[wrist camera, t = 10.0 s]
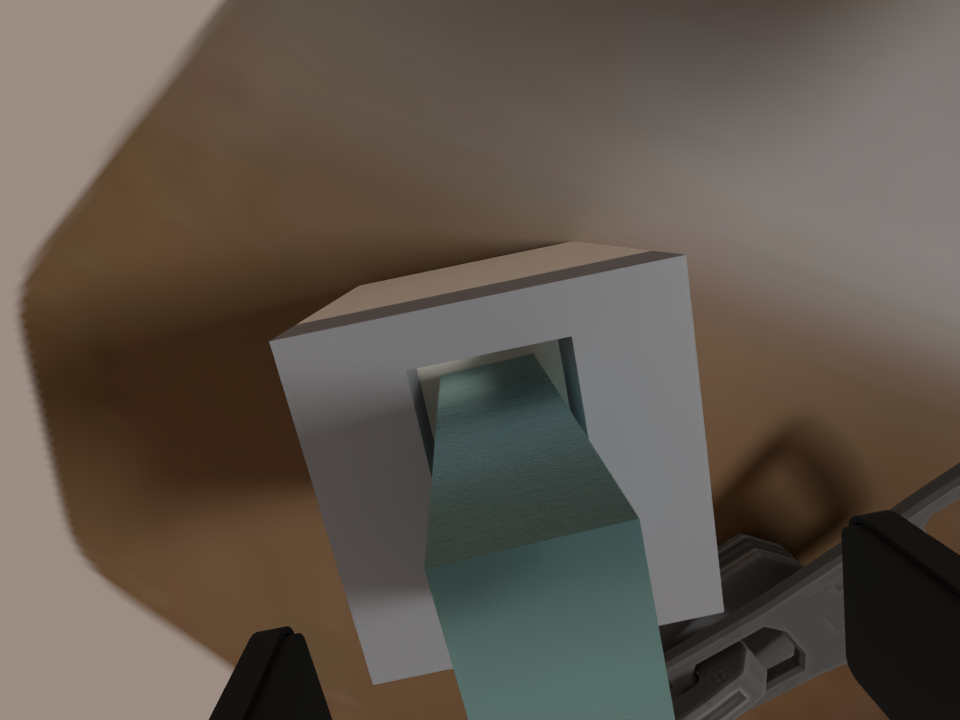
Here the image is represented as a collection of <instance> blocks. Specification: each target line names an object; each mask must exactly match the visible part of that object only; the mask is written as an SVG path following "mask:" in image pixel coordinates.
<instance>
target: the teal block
mask: <svg viewBox="0 0 960 720" xmlns="http://www.w3.org/2000/svg"><path fill="white" fill-rule="evenodd" d="M424 570H425V573H426V577H427V580H428V584H429V587H430V590H431V594H432V597H433V601H434V604H435V607H436V611H437V614H438V618H439V621H440V624H441V628H442V631H443V635H444V638H445V642H446V645H447V648H448V652H449V655H450V659H451V662H452V665H453V669H454V672H455V676H456V679H457V682H458V686H459V689H460V693H461V696H462V699H463V703H464V706H465V710H466V713H467V716H468V720H675V716H674V710H673V704H672V699H671V693H670V688H669V682H668V676H667V671H666V665H665V659H664V654H663V648H662V643H661V637H660V631H659V626H658V620H657V615H656V609H655V603H654V598H653V592H652V586H651V581H650V575H649V570H648V564H647V558H646V553H645V547H644V541H643V536H642V530H641V525H640V519H639V517H638V516H637V514H636V512H635V511H634V509H633V508H632V506H631V505H630V503H629V501H628V500H627V498H626V497H625V495H624V494H623V492H622V491H621V489H620V487H619V486H618V484H617V483H616V481H615V480H614V478H613V477H612V475H611V473H610V472H609V470H608V469H607V467H606V466H605V464H604V462H603V461H602V459H601V458H600V456H599V455H598V453H597V452H596V450H595V448H594V447H593V445H592V444H591V442H590V441H589V439H588V438H587V436H586V434H585V433H584V431H583V430H582V428H581V427H580V425H579V423H578V422H577V420H576V419H575V417H574V416H573V414H572V413H571V411H570V409H569V408H568V406H567V405H566V403H565V402H564V400H563V398H562V397H561V395H560V394H559V392H558V391H557V389H556V388H555V386H554V384H553V383H552V381H551V380H550V378H549V377H548V375H547V374H546V372H545V370H544V369H543V367H542V366H541V364H540V363H539V361H538V359H537V358H536V356H535V355H534V353H533V354H529V355H525V356H520V357H516V358H512V359H508V360H504V361H499V362H495V363H491V364H487V365H482V366H478V367H474V368H470V369H466V370H461V371H457V372H453V373H449V374H444V375H440V387H439V399H438V411H437V423H436V435H435V447H434V458H433V470H432V482H431V494H430V506H429V518H428V530H427V541H426V553H425V565H424Z"/></svg>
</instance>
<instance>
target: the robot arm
mask: <svg viewBox="0 0 960 720" xmlns="http://www.w3.org/2000/svg"><path fill="white" fill-rule="evenodd" d="M842 563H843V591H844V618H845V646H846V659H847V663H848V666H849V668H850V670H851V672H852V674H853V676H854V677H855V679H856V680H857V681H858V683H859V684H860V685H861V686H862V687H863V689H864V690H865V691H866V692H867V693H868V695H869V696H870V697H871V698H872V699H873V700H874V702H875V703H876V704H877V705H878V706H879V707H880V709H881V710H882V711H883V712H884V713H885V714H886V716H887V717H888V718H889V719H890V720H960V555H958V554H957V553H955V552H954V551H952V550H951V549H949V548H948V547H946V546H945V545H944V544H942V543H941V542H939V541H938V540H936V539H935V538H933V537H932V536H930V535H929V534H927V533H926V532H924V531H923V530H921V529H920V528H918V527H917V526H915V525H914V524H912V523H911V522H909V521H908V520H906V519H905V518H904V517H902V516H901V515H899V514H898V513H896V512H894V511H891V510H884V511H879V512H874V513H868V514H863V515H858V516H854V517H852V518H851V520H850V521H849V527H846V528H844V529H843V531H842ZM209 720H332V718H331V715H330V712H329V709H328V706H327V703H326V700H325V697H324V694H323V691H322V688H321V685H320V682H319V679H318V676H317V673H316V670H315V667H314V664H313V662H312V659H311V656H310V653H309V650H308V647H307V644H306V641H305V638H304V636H303V635H302V634H301V633H297V634H294V632H293V630H292V629H291V628H290V627H287V626H286V627H281V628H276V629H271V630H265V631H260V632H256V633H254V634H253V635H252V637H251V638H250V640H249V642H248V644H247V646H246V647H245V649H244V651H243V653H242V655H241V657H240V659H239V661H238V663H237V665H236V667H235V669H234V671H233V673H232V675H231V677H230V679H229V681H228V683H227V685H226V687H225V689H224V691H223V693H222V695H221V697H220V699H219V701H218V703H217V705H216V707H215V708H214V710H213V713H212V715H211V716H210V719H209Z"/></svg>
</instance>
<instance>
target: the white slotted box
mask: <svg viewBox="0 0 960 720" xmlns="http://www.w3.org/2000/svg"><path fill="white" fill-rule="evenodd" d="M269 343H270V346H271V349H272V353H273V356H274V359H275V362H276V366H277V369H278V372H279V376H280V379H281V382H282V386H283V389H284V392H285V395H286V399H287V402H288V405H289V409H290V412H291V415H292V419H293V422H294V425H295V428H296V432H297V435H298V438H299V442H300V445H301V448H302V452H303V455H304V458H305V461H306V465H307V468H308V471H309V475H310V478H311V481H312V485H313V488H314V491H315V494H316V498H317V501H318V504H319V508H320V511H321V514H322V518H323V521H324V524H325V527H326V531H327V534H328V537H329V541H330V544H331V547H332V551H333V554H334V557H335V560H336V564H337V567H338V570H339V574H340V577H341V580H342V584H343V587H344V590H345V593H346V597H347V600H348V603H349V607H350V610H351V613H352V617H353V620H354V623H355V626H356V630H357V633H358V636H359V640H360V643H361V646H362V650H363V653H364V656H365V659H366V663H367V666H368V669H369V673H370V676H371V679H372V682H373V685H375V684H380V683H385V682H390V681H394V680H399V679H404V678H409V677H414V676H418V675H423V674H428V673H433V672H438V671H443V670H447V669H452V668H453V665H452V662H451V659H450V655H449V652H448V648H447V645H446V642H445V638H444V635H443V631H442V628H441V624H440V621H439V618H438V614H437V611H436V607H435V604H434V601H433V597H432V594H431V590H430V587H429V584H428V580H427V577H426V573H425V570H424V565H425V553H426V541H427V530H428V518H429V506H430V494H431V482H432V470H433V458H434V447H435V435H436V423H437V411H438V399H439V387H440V375H444V374H449V373H453V372H457V371H461V370H466V369H470V368H474V367H478V366H482V365H487V364H491V363H495V362H499V361H504V360H508V359H512V358H516V357H520V356H525V355H529V354H533V353H534V355H535V356H536V358H537V359H538V361H539V363H540V364H541V366H542V367H543V369H544V370H545V372H546V374H547V375H548V377H549V378H550V380H551V381H552V383H553V384H554V386H555V388H556V389H557V391H558V392H559V394H560V395H561V397H562V398H563V400H564V402H565V403H566V405H567V406H568V408H569V409H570V411H571V413H572V414H573V416H574V417H575V419H576V420H577V422H578V423H579V425H580V427H581V428H582V430H583V431H584V433H585V434H586V436H587V438H588V439H589V441H590V442H591V444H592V445H593V447H594V448H595V450H596V452H597V453H598V455H599V456H600V458H601V459H602V461H603V462H604V464H605V466H606V467H607V469H608V470H609V472H610V473H611V475H612V477H613V478H614V480H615V481H616V483H617V484H618V486H619V487H620V489H621V491H622V492H623V494H624V495H625V497H626V498H627V500H628V501H629V503H630V505H631V506H632V508H633V509H634V511H635V512H636V514H637V516H638V517H639V519H640V525H641V530H642V536H643V541H644V547H645V553H646V558H647V564H648V570H649V575H650V581H651V586H652V592H653V598H654V603H655V609H656V615H657V620H658V626H660V625H665V624H669V623H674V622H679V621H684V620H689V619H694V618H698V617H703V616H708V615H713V614H718V613H723V612H724V606H723V596H722V587H721V578H720V568H719V559H718V550H717V540H716V531H715V522H714V512H713V503H712V494H711V484H710V475H709V466H708V456H707V447H706V438H705V428H704V419H703V410H702V400H701V391H700V382H699V372H698V363H697V354H696V344H695V335H694V326H693V317H692V307H691V298H690V289H689V279H688V270H687V261H686V255H683V254H675V253H666V252H658V251H649V250H640V249H632V248H623V247H615V246H606V245H598V244H589V243H581V242H572V241H571V242H566V243H562V244H557V245H552V246H547V247H542V248H538V249H533V250H528V251H523V252H518V253H514V254H509V255H504V256H499V257H494V258H490V259H485V260H480V261H475V262H470V263H465V264H461V265H456V266H451V267H446V268H441V269H437V270H432V271H427V272H422V273H417V274H413V275H408V276H403V277H398V278H393V279H388V280H384V281H379V282H374V283H369V284H364V285H360V286H358V287H356V288H355V289H353V290H351V291H350V292H348V293H347V294H345V295H343V296H342V297H340V298H338V299H337V300H335V301H334V302H332V303H330V304H329V305H327V306H326V307H324V308H322V309H321V310H319V311H317V312H316V313H314V314H313V315H311V316H309V317H308V318H306V319H305V320H303V321H301V322H300V323H298V324H296V325H295V326H293V327H292V328H290V329H288V330H287V331H285V332H284V333H282V334H280V335H279V336H277V337H275V338H274V339H272V340H271V341H269Z"/></svg>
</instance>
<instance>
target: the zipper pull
mask: <svg viewBox="0 0 960 720" xmlns="http://www.w3.org/2000/svg"><path fill="white" fill-rule="evenodd" d="M958 499H960V463H958V464H957V465H955V466H954V467H952V468H951V469H949V470H948V471H946V472H945V473H943V474H942V475H940V476H939V477H937V478H936V479H934V480H933V481H931V482H930V483H928V484H927V485H925V486H923V487H922V488H920V489H919V490H917V491H916V492H914V493H913V494H911V495H910V496H909V497H907V498H906V499H904V500H903V501H902V502H900V503H899V504H897V505H896V506H895V507H893V508H892V509H890V510H891V511H894V512H896V513H898V514H899V515H901V516H902V517H904V518H905V519H906V520H908V521H909V522H911V523H912V524H914V525H915V526H917V527H918V528H920V529H921V530H923V531H924V532H926V530H925V529H924V528H923V527H924V526H925V524H926V523H927V521H928V519H929V518H930V516H931V515H932V514H933V513H935V512H937V511H939V510H940V509H942V508H944V507H946V506H948V505H949V504H951V503H953V502H955V501H956V500H958ZM926 533H927V532H926ZM927 534H928V533H927ZM717 550H718V559H719V568H720V578H721V587H722V596H723V606H724V612H723V613H718V614H713V615H708V616H703V617H698V618H694V619H689V620H684V621H679V622H674V623H669V624H665V625H660V626H659V631H660V637H661V643H662V648H663V654H664V659H665V665H666V671H667V676H668V682H669V688H670V693H671V699H672V704H673V710H674V716H675V720H734V719H736V718H737V717H738V716H740V715H741V714H743V713H745V712H747V711H749V710H751V709H753V708H755V707H757V706H759V705H761V704H763V703H765V702H767V701H769V700H771V699H773V698H775V697H777V696H779V695H781V694H783V693H785V692H787V691H789V690H791V689H793V688H795V687H797V686H798V685H800V684H802V683H804V682H806V681H808V680H810V679H812V678H814V677H816V676H818V675H821V674H823V673H825V672H827V671H830V670H832V669H834V668H836V667H839V666H841V665H843V664H845V663H847V659H846V646H845V618H844V591H843V563H842V542H841V543H839V544H838V545H836V546H835V547H833V548H832V549H830V550H829V551H827V552H826V553H824V554H823V555H821V556H820V557H818V558H817V559H815V560H814V561H812V562H811V563H809V564H808V565H806V566H805V567H803V566H802V565H801V564H800V563H799V562H798V561H797V560H796V559H795V558H794V557H793V556H792V555H791V554H790V553H789V552H788V551H787V550H786V549H785V548H784V547H783V546H782V545H780V544H777V543H774V542H770V541H767V540H763V539H760V538H757V537H753V536H750V535H747V534H743V533H740V534H738V535H736V536H734V537H732V538H731V539H729V540H728V541H726V542H724V543H723V544H721V545H720V546H718V547H717ZM793 654H794V656H792V655H793ZM791 656H792V657H791Z"/></svg>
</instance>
